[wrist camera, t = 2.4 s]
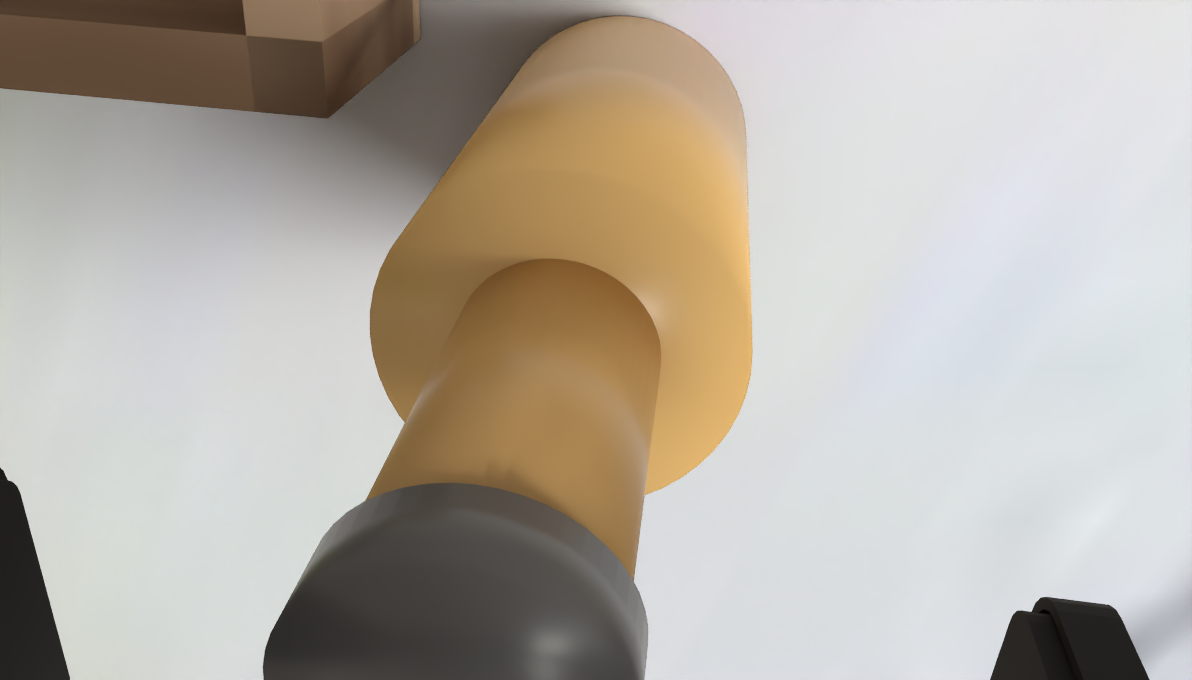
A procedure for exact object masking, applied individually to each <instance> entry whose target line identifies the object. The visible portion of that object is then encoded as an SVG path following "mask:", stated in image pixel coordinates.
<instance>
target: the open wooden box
mask: <svg viewBox="0 0 1192 680" xmlns="http://www.w3.org/2000/svg"><path fill="white" fill-rule="evenodd" d="M420 39H421V33H420V0H0V88H4V89H15V90H26V91H37V92H48V93H58V94H69V95H80V96H91V97H102V98H113V99H123V100H134V101H145V102H156V103H167V104H178V105H189V106H199V107H210V108H221V109H232V110H243V111H254V112H264V113H275V114H286V115H297V116H308V117H319V118H329V117H330V116H331V115H332V114H334V113H335V112H336V111H337V110H338V109H339V108H341V107H342V106H343V105H344V104H345V103H346V102H348V101H349V100H350V99H351V98H352V97H353V96H355V95H356V94H357V93H358V92H359V91H361V90H362V89H363V88H364V87H365V86H366V85H368V84H369V83H370V82H371V81H372V80H373V79H375V78H376V77H377V76H378V75H379V74H380V73H382V72H383V71H384V70H385V69H386V68H387V67H389V66H390V65H391V64H392V63H393V62H395V61H396V60H397V59H398V58H399V57H400V56H402V55H403V54H404V53H405V52H406V51H407V50H409V49H410V48H411V47H412V46H413V45H414V44H416V43H417V42H418V41H419V40H420Z"/></svg>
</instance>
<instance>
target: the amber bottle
mask: <svg viewBox="0 0 1192 680" xmlns="http://www.w3.org/2000/svg"><path fill="white" fill-rule="evenodd" d="M370 337H371V345H372V352H373V357H374V360H375V364H376V367H377V371H378V375H379V377H380V380H381V382H382V384H383V386H384V389H385V391H386V393H387V396H388V397H389V399H390V401H391V403H392V404H393V406H394V408H395V409H396V411H397V413H398V414H399V416H400V417H401V418H402V420H403V421H404V422H405V424H404V426H403V428H402V430H401V432H400V434H399V436H398V438H397V440H396V442H395V444H394V446H393V448H392V449H391V451H390V453H389V455H388V457H387V459H386V461H385V463H384V465H383V467H382V469H381V471H380V473H379V475H378V477H377V479H376V481H375V483H374V485H373V487H372V489H371V491H370V493H369V495H368V497H367V499H366V501H364V502H363V503H361V504H360V505H358V506H356V507H355V508H353V509H352V510H350V511H348V512H347V513H346V514H345V515H344V516H342V517H341V518H340V519H339V520H338V521H337V522H335V523H334V524H333V526H332V527H331V528H330V529H329V530H328V532H327V533H326V534H325V535H324V536H323V538H322V540H321V541H320V543H319V545H318V547H317V548H316V550H315V552H314V554H313V556H312V558H311V559H310V561H309V563H308V565H307V567H306V569H305V571H304V572H303V574H302V576H301V578H300V580H299V582H298V583H297V585H296V587H295V589H294V591H293V593H292V595H291V596H290V598H289V600H288V602H287V604H286V606H285V608H284V609H283V611H282V613H281V615H280V617H279V619H278V621H277V622H276V624H275V626H274V628H273V630H272V632H271V634H270V637H269V640H268V643H267V646H266V649H265V655H264V663H263V675H264V680H644V678H645V668H646V658H647V648H648V624H647V618H646V611H645V608H644V605H643V602H642V599H641V596H640V593H639V591H638V589H637V587H636V585H635V583H634V574H635V566H636V558H637V551H638V543H639V535H640V527H641V519H642V511H643V503H644V495H646V494H649V493H651V492H654V491H656V490H659V489H661V488H663V487H665V486H667V485H669V484H671V483H672V482H674V481H676V480H678V479H680V478H681V477H683V476H684V475H686V474H687V473H688V472H690V471H691V470H693V469H694V468H695V467H697V466H698V465H699V464H700V463H701V462H702V461H703V460H704V459H706V458H707V457H708V456H709V455H710V454H711V453H712V452H713V451H714V450H715V448H716V447H717V446H718V445H719V443H720V442H721V441H722V440H723V438H724V437H725V436H726V435H727V433H728V432H729V430H730V428H731V426H732V425H733V423H734V421H735V420H736V418H737V416H738V414H739V411H740V409H741V406H742V404H743V401H744V399H745V396H746V393H747V389H748V384H749V380H750V376H751V365H752V318H751V284H750V249H749V215H748V180H747V146H746V127H745V119H744V114H743V109H742V105H741V102H740V100H739V97H738V94H737V91H736V89H735V87H734V85H733V83H732V82H731V80H730V78H729V76H728V74H727V73H726V72H725V70H724V69H723V67H722V66H721V65H720V63H719V62H718V61H717V60H716V59H715V58H714V57H713V55H712V54H711V53H710V52H709V51H708V50H707V49H706V48H704V47H703V46H702V45H701V44H699V43H698V42H697V41H696V40H695V39H693V38H691V37H690V36H688V35H686V34H685V33H683V32H682V31H680V30H678V29H675V28H673V27H671V26H669V25H666V24H664V23H661V22H657V21H654V20H650V19H646V18H639V17H633V16H610V17H601V18H595V19H592V20H588V21H584V22H580V23H578V24H576V25H573V26H571V27H568V28H566V29H564V30H563V31H561V32H559V33H557V34H556V35H554V36H552V37H551V38H550V39H548V40H547V41H546V42H545V43H543V44H542V45H541V46H540V47H538V48H537V50H536V51H535V52H534V53H533V54H532V55H531V56H530V57H529V58H528V59H527V60H526V62H525V63H524V65H523V66H522V67H521V69H520V70H519V72H518V73H517V74H516V76H515V77H514V78H513V80H512V81H511V83H510V84H509V85H508V87H507V88H506V90H505V91H504V92H503V94H502V95H501V96H500V98H499V99H498V101H497V102H496V103H495V105H494V106H493V107H492V109H491V110H490V112H489V113H488V114H487V116H486V117H485V119H484V120H483V121H482V123H481V124H480V125H479V127H478V128H477V130H476V131H475V132H474V134H473V135H472V137H471V138H470V139H469V141H468V142H467V143H466V145H465V146H464V148H463V149H462V150H461V152H460V153H459V155H458V156H457V157H456V159H455V160H454V161H453V163H452V164H451V166H450V167H449V168H448V170H447V171H446V172H445V174H444V175H443V177H442V178H441V179H440V181H439V182H438V184H437V185H436V186H435V188H434V189H433V190H432V192H431V193H430V195H429V196H428V197H427V199H426V200H425V202H424V203H423V204H422V206H421V207H420V208H419V210H418V211H417V213H416V214H415V215H414V217H413V218H412V220H411V221H410V222H409V224H408V225H407V226H406V228H405V229H404V231H403V232H402V233H401V235H400V236H399V238H398V239H397V240H396V242H395V243H394V245H393V246H392V247H391V249H390V251H389V253H388V255H387V257H386V259H385V261H384V263H383V265H382V266H381V268H380V271H379V274H378V278H377V281H376V284H375V287H374V290H373V296H372V303H371V309H370Z"/></svg>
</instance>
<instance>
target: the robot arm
mask: <svg viewBox="0 0 1192 680" xmlns="http://www.w3.org/2000/svg"><path fill="white" fill-rule="evenodd" d="M0 680H70V676H69V673H68V669H67V665H66V661H65V658H64V654H63V650H62V647H61V643H60V639H59V635H58V632H57V628H56V624H55V621H54V617H53V613H52V609H51V606H50V602H49V598H48V595H47V591H46V587H45V583H44V580H43V576H42V572H41V569H40V565H39V561H38V557H37V554H36V550H35V546H34V543H33V539H32V535H31V532H30V528H29V524H28V520H27V517H26V513H25V509H24V506H23V502H22V498H21V494H20V492H19V490H18V487H17V486H16V485H15V484H14V483H13V482H11V481H8V480H7V478H6V476H5V473H4V471H3V470H2V469H1V468H0ZM990 680H1149V678H1148V676H1147V673H1146V671H1145V669H1144V667H1143V665H1142V662H1141V660H1140V658H1139V656H1138V654H1137V652H1136V649H1135V647H1134V645H1133V643H1132V641H1131V639H1130V636H1129V634H1128V632H1127V630H1126V628H1125V625H1124V623H1123V621H1122V619H1121V617H1120V616H1119V614H1118V612H1117V611H1116V609H1114V608H1113V607H1111V606H1110V605H1105V604H1097V603H1089V602H1081V601H1073V600H1066V599H1058V598H1050V597H1043V598H1040V599H1039V600H1038V601H1037V602H1036V603H1035V606H1034V608H1033V610H1032V612H1028V611H1016V612H1015V613H1014V615H1013V616H1012V619H1011V621H1010V623H1009V626H1008V629H1007V632H1006V635H1005V638H1004V641H1003V644H1002V647H1001V650H1000V653H999V655H998V658H997V661H996V664H995V667H994V670H993V673H992V676H991V679H990Z"/></svg>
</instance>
